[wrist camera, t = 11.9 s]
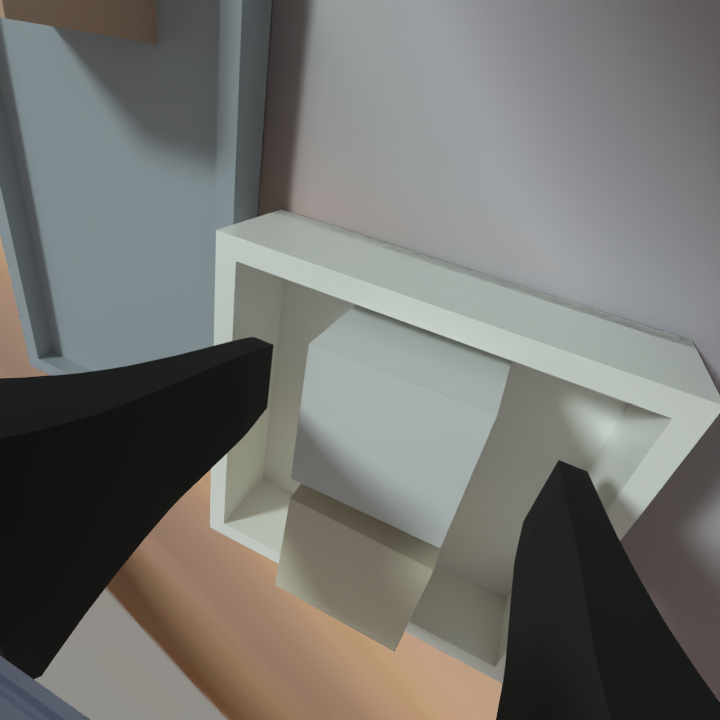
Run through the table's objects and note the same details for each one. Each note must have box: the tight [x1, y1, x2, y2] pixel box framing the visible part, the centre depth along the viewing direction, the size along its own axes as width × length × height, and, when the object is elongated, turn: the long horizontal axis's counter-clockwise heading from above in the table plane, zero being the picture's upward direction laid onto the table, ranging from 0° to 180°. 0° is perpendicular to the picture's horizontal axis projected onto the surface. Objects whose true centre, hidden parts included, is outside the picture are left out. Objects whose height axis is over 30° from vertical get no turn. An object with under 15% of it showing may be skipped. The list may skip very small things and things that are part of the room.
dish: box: [210, 209, 720, 683], centre depth 14 cm, size 11×11×3 cm
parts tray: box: [0, 0, 272, 375], centre depth 15 cm, size 18×10×1 cm, turn 167°
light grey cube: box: [291, 305, 512, 548], centre depth 12 cm, size 4×4×4 cm
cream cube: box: [275, 483, 440, 651], centre depth 14 cm, size 4×4×4 cm
